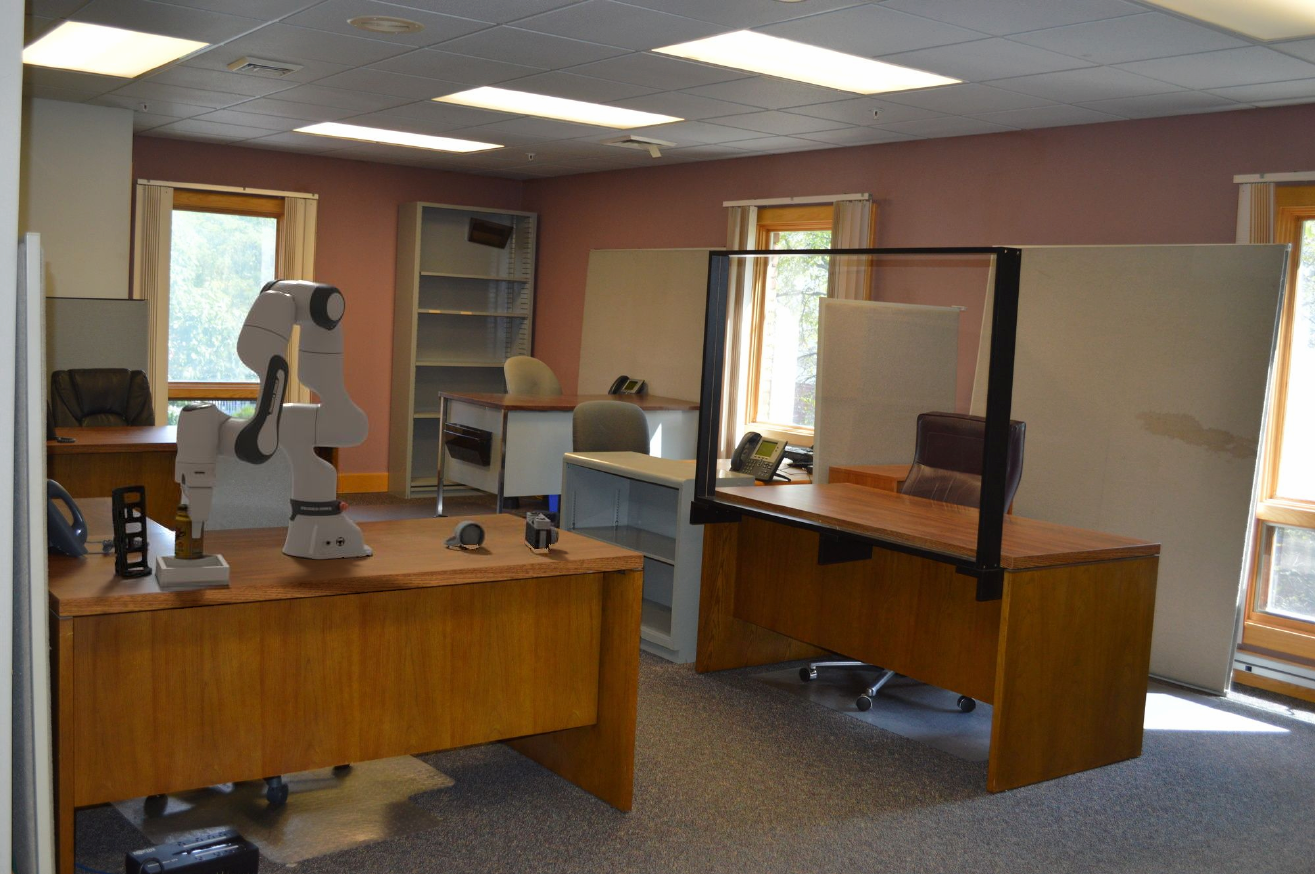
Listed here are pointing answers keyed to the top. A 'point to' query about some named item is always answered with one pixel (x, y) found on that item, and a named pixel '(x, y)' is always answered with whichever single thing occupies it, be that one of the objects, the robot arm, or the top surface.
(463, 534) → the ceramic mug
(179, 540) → the condiment
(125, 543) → the holder
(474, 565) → the top surface
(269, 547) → the top surface
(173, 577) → the tray
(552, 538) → the camera
